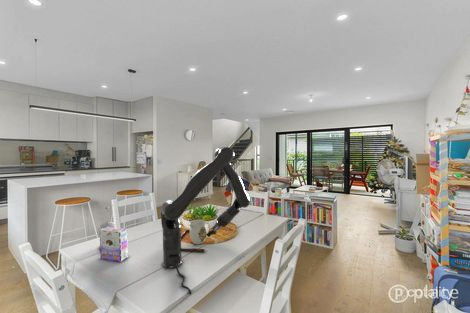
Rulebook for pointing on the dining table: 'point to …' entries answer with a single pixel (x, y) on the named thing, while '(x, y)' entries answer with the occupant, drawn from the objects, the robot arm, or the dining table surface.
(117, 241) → the candy box
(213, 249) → the dining table surface
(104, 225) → the french press
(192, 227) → the pitcher
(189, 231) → the bay
